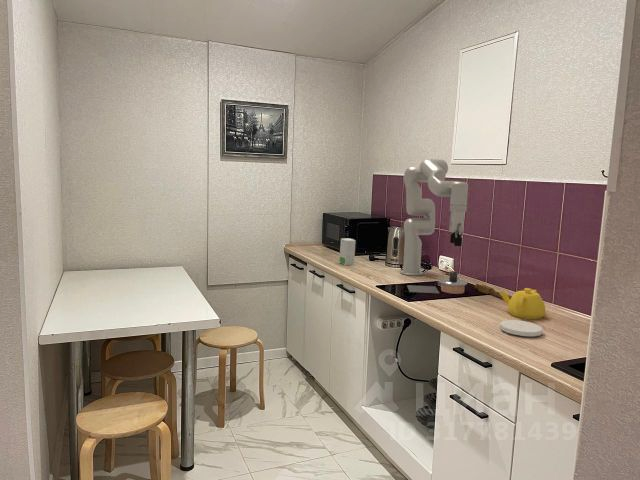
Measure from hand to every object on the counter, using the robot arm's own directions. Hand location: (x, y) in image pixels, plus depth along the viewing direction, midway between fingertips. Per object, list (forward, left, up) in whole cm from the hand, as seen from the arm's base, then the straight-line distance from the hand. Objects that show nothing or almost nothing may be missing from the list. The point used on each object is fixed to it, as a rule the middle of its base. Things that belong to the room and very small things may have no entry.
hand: (455, 244), depth 227 cm
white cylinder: (-62, -52, -23) cm, 84 cm away
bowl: (0, 0, -23) cm, 23 cm away
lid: (0, 0, -19) cm, 19 cm away
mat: (-1, -14, -23) cm, 27 cm away
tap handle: (+4, +19, -24) cm, 31 cm away
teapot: (+33, +21, -23) cm, 46 cm away
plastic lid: (+57, +13, -24) cm, 63 cm away
